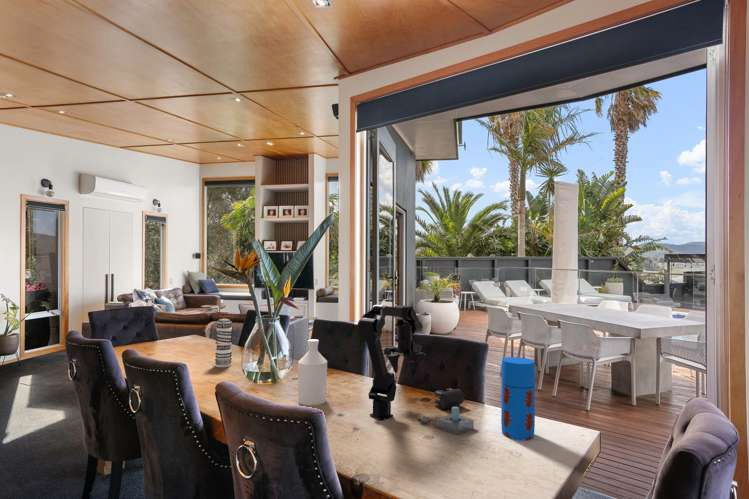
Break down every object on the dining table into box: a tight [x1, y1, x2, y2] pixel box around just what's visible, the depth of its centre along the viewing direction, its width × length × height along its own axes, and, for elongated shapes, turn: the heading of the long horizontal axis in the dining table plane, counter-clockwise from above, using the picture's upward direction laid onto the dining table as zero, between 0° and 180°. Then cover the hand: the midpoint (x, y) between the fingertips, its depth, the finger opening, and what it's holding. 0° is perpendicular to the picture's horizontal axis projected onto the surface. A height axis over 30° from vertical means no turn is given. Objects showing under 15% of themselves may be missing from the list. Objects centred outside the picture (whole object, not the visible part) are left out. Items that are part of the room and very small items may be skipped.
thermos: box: [500, 356, 536, 441], centre depth 154 cm, size 11×11×25 cm
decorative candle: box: [214, 318, 234, 368], centre depth 247 cm, size 9×9×25 cm
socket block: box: [436, 413, 475, 436], centre depth 159 cm, size 9×9×3 cm
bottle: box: [297, 338, 328, 406], centre depth 187 cm, size 12×12×25 cm
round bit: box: [451, 406, 460, 421], centre depth 159 cm, size 3×3×7 cm
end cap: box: [434, 387, 465, 411], centre depth 181 cm, size 10×7×7 cm
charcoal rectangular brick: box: [420, 415, 430, 425], centre depth 165 cm, size 5×2×2 cm, turn 166°
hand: (404, 375), depth 184 cm, fingers open, 9 cm apart
